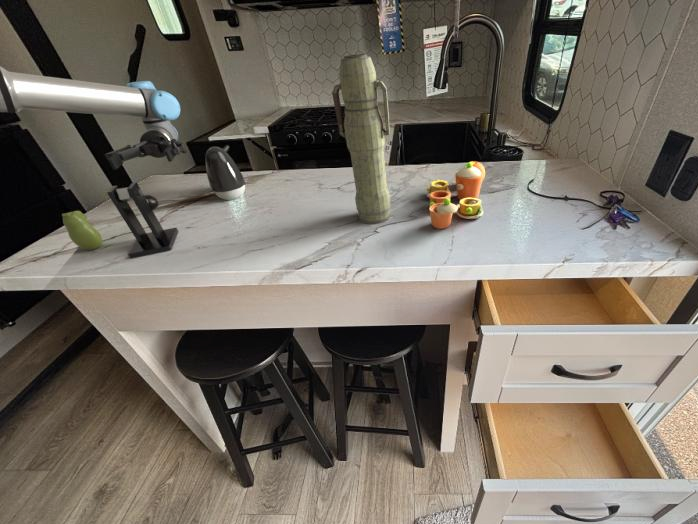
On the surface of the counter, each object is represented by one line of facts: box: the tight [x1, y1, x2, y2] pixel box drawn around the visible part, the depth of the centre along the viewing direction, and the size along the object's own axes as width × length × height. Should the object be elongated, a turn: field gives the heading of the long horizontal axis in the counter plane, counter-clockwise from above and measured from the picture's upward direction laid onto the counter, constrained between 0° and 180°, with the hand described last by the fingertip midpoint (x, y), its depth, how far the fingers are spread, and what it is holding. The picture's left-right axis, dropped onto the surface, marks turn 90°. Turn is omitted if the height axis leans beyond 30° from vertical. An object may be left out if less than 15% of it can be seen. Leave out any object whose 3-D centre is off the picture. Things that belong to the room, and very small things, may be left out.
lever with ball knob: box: [116, 187, 159, 211], centre depth 83 cm, size 14×4×4 cm
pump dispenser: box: [205, 144, 246, 201], centre depth 104 cm, size 10×10×15 cm
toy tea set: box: [425, 161, 484, 230], centre depth 87 cm, size 26×16×10 cm, turn 175°
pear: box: [61, 210, 103, 251], centre depth 83 cm, size 6×5×10 cm
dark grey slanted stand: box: [106, 181, 179, 259], centre depth 81 cm, size 11×9×15 cm
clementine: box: [463, 160, 486, 182], centre depth 100 cm, size 8×7×7 cm
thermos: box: [331, 53, 392, 225], centre depth 79 cm, size 9×12×35 cm
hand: (140, 160), depth 91 cm, fingers open, 13 cm apart
